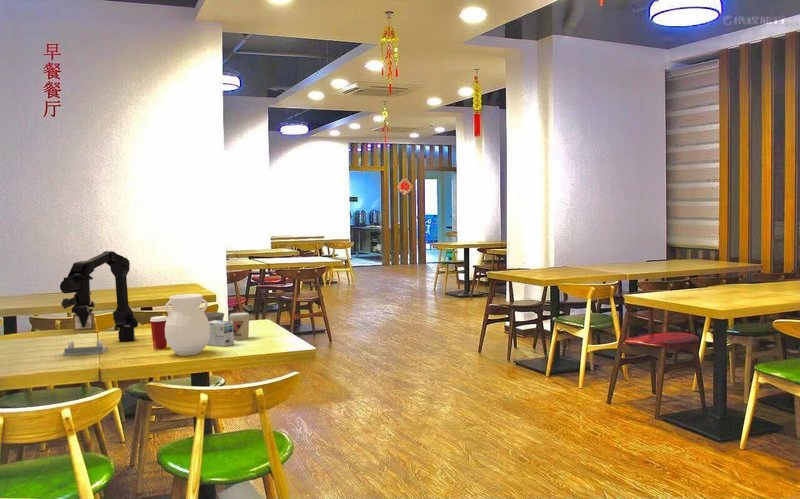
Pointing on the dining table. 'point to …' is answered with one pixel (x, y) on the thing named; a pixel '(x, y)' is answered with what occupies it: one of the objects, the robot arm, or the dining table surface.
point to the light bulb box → (221, 333)
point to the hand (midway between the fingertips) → (84, 326)
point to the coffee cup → (240, 325)
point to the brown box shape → (89, 324)
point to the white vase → (187, 324)
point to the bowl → (214, 316)
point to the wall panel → (84, 349)
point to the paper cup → (158, 332)
